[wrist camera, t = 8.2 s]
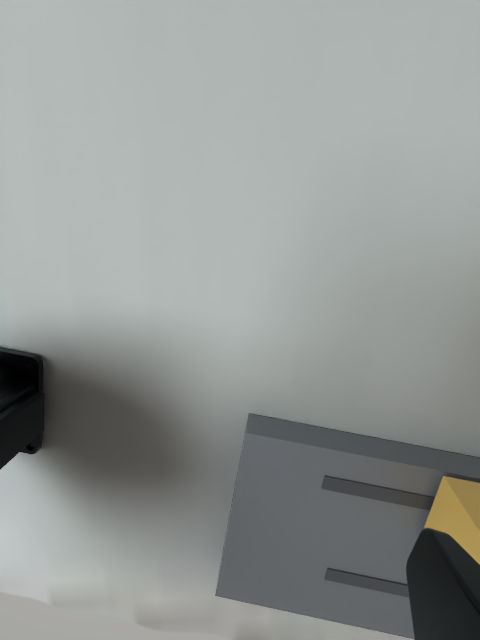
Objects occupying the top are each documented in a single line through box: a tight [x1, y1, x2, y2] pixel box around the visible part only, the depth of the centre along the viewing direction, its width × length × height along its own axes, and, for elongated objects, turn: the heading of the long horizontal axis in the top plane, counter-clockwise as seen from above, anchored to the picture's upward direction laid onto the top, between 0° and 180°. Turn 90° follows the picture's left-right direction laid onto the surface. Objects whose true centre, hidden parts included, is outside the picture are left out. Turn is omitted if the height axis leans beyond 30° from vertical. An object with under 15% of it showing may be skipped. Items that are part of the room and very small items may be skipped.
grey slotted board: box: [215, 414, 480, 639], centre depth 21 cm, size 16×12×2 cm
